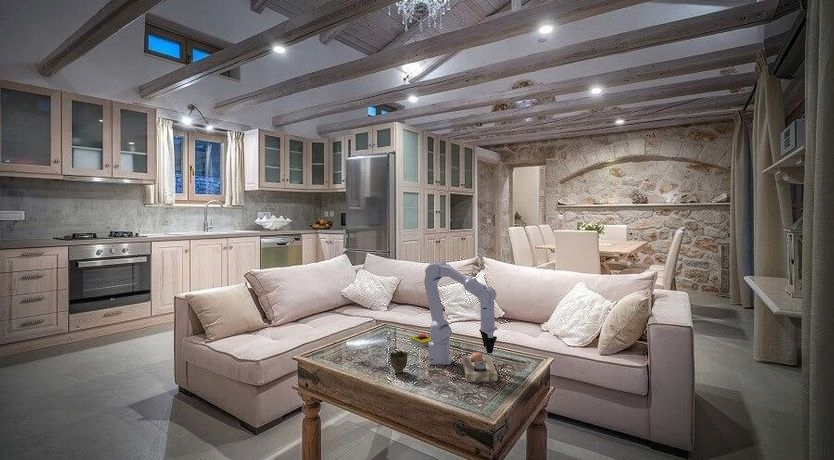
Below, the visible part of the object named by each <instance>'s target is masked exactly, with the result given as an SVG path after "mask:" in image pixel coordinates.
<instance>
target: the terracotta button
mask: <svg viewBox="0 0 834 460" xmlns="http://www.w3.org/2000/svg"><path fill="white" fill-rule="evenodd" d="M471 356H472V362H476V361H482V356H483V353H482V352H473V353H471Z"/></svg>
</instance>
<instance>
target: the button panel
mask: <svg viewBox="0 0 834 460" xmlns="http://www.w3.org/2000/svg"><path fill="white" fill-rule="evenodd" d="M482 361H484V362H485V363H486V371H485V372H476V371H475V362H472V355H462V356H461V363H462V367H463V373H464V376H465V377H464V378H465V380H466V382H467V383H470V382H471V383H472V382H475V383H477V382H478V383H479V382H480V383H481V382H483V383H484V382H485V383H486V382H498V381H499V380H498V371H497V370H496V368H495V365H494V363H493V361H492V359H491V356H490V355H482Z"/></svg>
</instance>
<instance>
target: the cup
mask: <svg viewBox="0 0 834 460" xmlns="http://www.w3.org/2000/svg"><path fill="white" fill-rule="evenodd" d="M389 358H390V366H391V368H392V369H393V370H394V373H395V372H396V373H395V374H397V373H401V374H402V372H403V373H404V371H405V368H406V367H407V364H408V352H407V351H405V350H404V351H403V350H396V352H394V351H391V352H389Z"/></svg>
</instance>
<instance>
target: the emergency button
mask: <svg viewBox="0 0 834 460" xmlns="http://www.w3.org/2000/svg"><path fill="white" fill-rule="evenodd" d="M409 341H410V342H409V343H410V344H412V343H413V345H414V344H415V345H414V346H417V347H419V348H422V349H426V350H427V349H428V350H429V342H432V340H431V338H430V335H427V334H426V333H425V334H424V333H421V334H418V335H417V334H416V335H413V336H410V340H409Z"/></svg>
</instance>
